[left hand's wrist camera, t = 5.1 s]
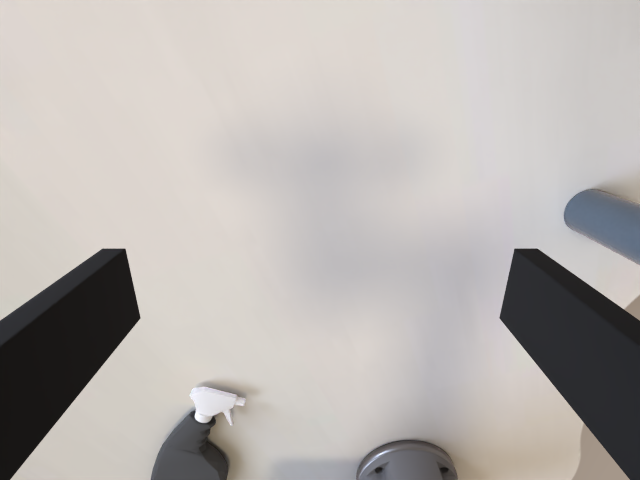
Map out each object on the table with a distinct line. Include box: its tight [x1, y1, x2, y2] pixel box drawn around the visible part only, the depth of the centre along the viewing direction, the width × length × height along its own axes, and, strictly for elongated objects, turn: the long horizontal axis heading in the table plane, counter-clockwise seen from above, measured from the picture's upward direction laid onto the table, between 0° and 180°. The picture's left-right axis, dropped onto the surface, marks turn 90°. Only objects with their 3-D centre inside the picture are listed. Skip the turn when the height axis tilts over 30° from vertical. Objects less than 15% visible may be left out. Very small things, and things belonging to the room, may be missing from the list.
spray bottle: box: [151, 387, 246, 480], centre depth 53 cm, size 3×11×24 cm
